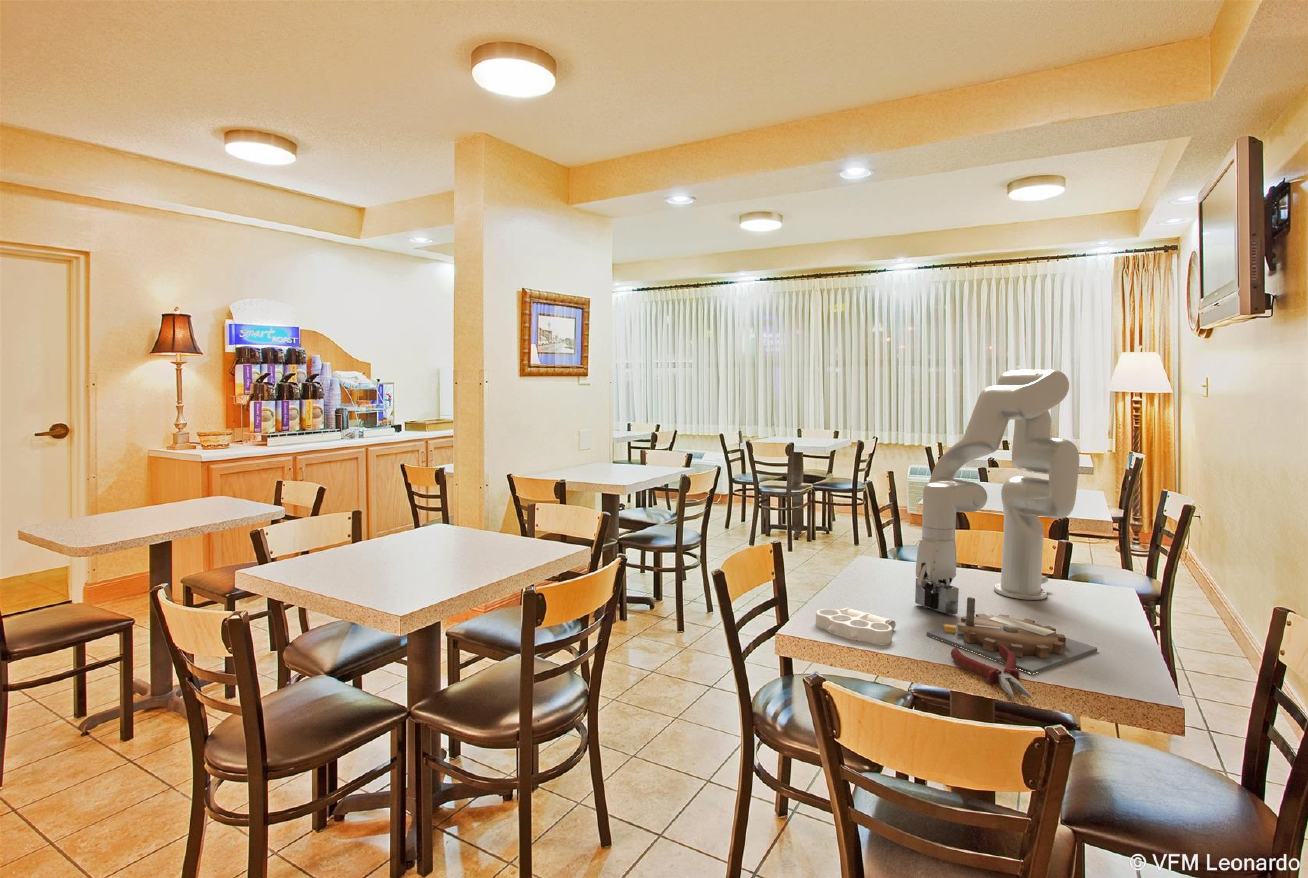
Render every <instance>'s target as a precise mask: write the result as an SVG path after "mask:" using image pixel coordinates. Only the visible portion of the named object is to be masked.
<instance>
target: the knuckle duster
mask: <svg viewBox="0 0 1308 878" xmlns="http://www.w3.org/2000/svg"><path fill="white" fill-rule="evenodd" d="M896 623H897V622H896V620H893V619H892V618H886V617H882V616H878V615H874V614H872V613H871V612H865V611H860V610H856V609H853V608H851V607H844V608H841V609H835V608H834V609H832V608H821V609H818V610H816V612H815V626H816V627H817V628H820V629H823V630H826V631H827V632H829V633H830V634H832V635H835V636H838V637H844V638H846V639H847V640H851V641H856V640H858V641H857V642H860V641H859V640H862V641H861V642H866V641H867V643H870V642H871V643H870V644H874V645H877V644H885V645H889V643H890V644H891V643H892V642H893V631H894V630H895V628H896V625H897V624H896ZM892 630H893V631H892Z"/></svg>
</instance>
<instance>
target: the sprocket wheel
mask: <svg viewBox="0 0 1308 878" xmlns="http://www.w3.org/2000/svg"><path fill="white" fill-rule="evenodd" d="M966 598H967V599H966V612H965V613H966V615H965V616H964V615H963V616H962V617H961V618H960V622H957V624H958V627H957V632H958V634H963V635H964V640H965V641H967V642H968V643H977V644H979V645H982V646H983V649H985V650H989V651H992V652H993V651H995V650H998V651H999V646H1005V647H1006V648H1008V649H1009V650H1010V651H1011V652H1012V653H1013V654H1014V655H1015V656H1018V657H1023V655H1036V656H1038V657H1039V658H1047V657H1049V653H1052V652H1053V653H1056V654H1060V655H1061V654H1062V653H1064V647H1065V646H1066V638H1067V637H1066V635H1065V634H1060V633H1057V629H1056V628H1055V627H1053V626H1050V625H1042V624H1039V623H1036V621H1035V620H1033V619H1031V618H1030V619H1029V618H1024V619H1020V618H1015V617H1010V615H1009V614H1001V613H998V615H995V616H988V615H987V614H986V613H976V614H975V611H976V610H975V609H976V607H975V606H976V598H975V597H972V596H969V597H966Z"/></svg>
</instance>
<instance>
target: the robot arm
mask: <svg viewBox="0 0 1308 878" xmlns="http://www.w3.org/2000/svg"><path fill="white" fill-rule="evenodd" d="M1069 391H1070V381H1069V379H1068V376H1067V375H1066V374H1065V373H1063V372H1062V371H1060V370H1057V369H1017V370H1016V369H1015V370H1008V371H1005V372H1004V373H1002V374H1000V376H999V377H998V381H997V385H992V386H987V387H985V388H983V390H982V391H981V392H980V393H979V395H978V397H977V401H976V403H975V406H974V407H973V410H972V411H973V412H972V413H971V416H970V419H969V421H968V425H967V427H966V430H965V432H964V434H963V436H962V437H961V439H960V440H959V441H958V442H956V443H955V444H954V445H952V446H951V447H949V449H948V450H947V451H945V452H944V454H942V456H941V457H940V458H939V459H938V460H937V461H936V463H935V466H934V468H933V469H932V470H933V471H932V473H931V475H930V478H929V481H928V483H927V484H925V485H924V486H923V491H922V516H921V517H922V523H921V538H920V540H919V543H918V547H917V554H916V560H915V561H916V563H915V577H916V578H918V580H917V583H918V584H919V585H921V586H922V587H923V591H925V600H924V605H925V606H924V607H926V608H928V609H932V610H934V609H937V593H935V592H936V584H937V582H941V583H944V584H947V585H951V584H952V582H953V580H954V579H955V578H956V576H957V573H956V572H957V562H958V561H957V545H956V517H957V513H958V512H959V513H974V512H978V511H981V510H982V509H983V508H984V507H985V505H986V504H987V502H988V494H987V491H986V489H985V487H984V486H982V485H981V484H979V483H976V482H973V481H967V480H962V479H956V478H955V477H956V474H957V472H959V470H960V469H961V468H962V467H963V466H965V465H966V464H968V463H969V462H972V461H974V460H977V459H979V458H982V457H985V456H988V455H991V454H993V453H995V452H996V451H997V450H998V449H999V447H1000V444H1001V442H1002V439H1003V438H1004V437H1003V436H1004V434H1005V431H1006V428H1007V426H1008V424H1009V421H1010V420H1014V427H1013V429H1014V430H1013V436H1012V437H1013V438H1012V445H1011V446H1012V448H1011V462H1012V465H1013V466H1014V468H1015V469H1017V470H1019V471H1021V472H1022V471H1023V472H1027V473H1028V472H1029V473H1035V474H1041V475H1048V479H1043V478H1041V477H1040V478H1039V477H1030V476H1023V475H1022V476H1021V475H1020V476H1019V475H1018V476H1014V477H1010V478H1009V479H1008V478H1007V480H1006V481H1005V482H1003V485H1002V486H1001V492H1000V494H1001V497H1000V498H1001V505H1002V510H1003V535H1002V536H1003V538H1002V557H1001V573H1000V575H1001V576H1000V582H999V583H998V582H997V583H996V584H994V586H993V590H994V591H995V592H996V593H997V594H999V595H1002V596H1004V597H1008V598H1011V599H1017V600H1028V601H1039V600H1044V599H1046V598H1047V597H1048V592H1047V591H1046V590H1045V589H1043V588H1041V587H1042V585H1043V584H1046V583H1048V582H1049V578H1048V576H1045V575H1042V569H1043V554H1044V553H1043V552H1044V551H1043V550H1044V539H1045V537H1044V536H1045V532H1044V531H1045V530H1044V525H1043V522H1042V520H1041V519H1040V517H1039V516H1042V517H1045V518H1050V519H1051V518H1052V519H1065V518H1067V517H1068V516H1070V515H1071V513H1072V512H1073V510H1074V507H1075V504H1076V503H1075V502H1076V498H1077V490H1078V489H1077V488H1078V481H1079V472H1080V453H1079V449H1078V448H1077V446H1076V445H1075V443H1074V442H1073V441H1071V440H1068V439H1065V438H1057V437H1056V438H1055V437H1051V430H1052V429H1051V428H1052V427H1051V426H1052V418H1051V413H1050V412H1049V410H1050V409H1052V408H1055V406H1057V405H1059V404H1060V403H1061V402H1062V401H1063V400H1065V398H1066V397H1067V395H1068V393H1069ZM929 582H931V583H932V585H930V584H929Z"/></svg>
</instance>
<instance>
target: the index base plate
mask: <svg viewBox="0 0 1308 878" xmlns="http://www.w3.org/2000/svg"><path fill="white" fill-rule="evenodd" d="M987 616H996V615H994V614H991V613H990V614H988V615H987ZM957 627H958V623H956V624H950V623H949V624H948V623H944V624H943V627H940V628H936V629H932V630H929V631H926V635H928V636H927V637H929V636H930V638H932V637H934V638H937V639H939V640H938V641H940V640H943V641H945V642H947V643H946V644H948V643H949V644H948V645H950V644H953V645H956V646H958V647H962V648H964V649H967V650H969V651H973V652H975V653H977V654H981V655H983V656H985V657H988V658H991V659H993V660H996V661H997V662H996V661H995V662H996V663H998V662H1001V663H1003V664H1002V665H1004V664H1006V661H1005V660H1004V659H1002V658H1001V656H1000V654H999V651H998V650H995V651H993V652H992V651H989V650H985V649H983V646H982V645H979V644H977V643H968V642H967V641H965V640H964V635H963V634H958V632H957ZM926 635H925V636H926ZM934 638H933V639H934ZM937 639H936V640H937ZM945 642H944V643H945ZM953 645H952V646H953ZM956 646H955V647H956ZM958 647H957V648H958ZM964 649H963V650H964ZM969 651H968V652H969ZM1097 652H1098V647H1097V646H1093V645H1091V644H1090V645H1089V644H1086V643H1084V642H1080V641H1077V640H1074V639H1072V638H1071V639H1070V638H1068V637H1066V646H1065V647H1064V653H1062V654H1061V655H1060V654H1056V653H1053V652H1052V653H1049V657H1047V658H1039V657H1038V656H1036V655H1023V657H1018V656H1015V657H1016V667H1015V668H1017V669H1021V670H1023V671H1026V672H1030V673H1031V674H1033V673H1036V672H1039V673H1041V672H1040V671H1042V672H1044V671H1043V670H1045V671H1047V670H1049V669H1053V668H1055V667H1058V666H1061V665H1064V664H1066V663H1070V662H1072V661H1074V660H1078V659H1081V658H1083V657H1086V656H1089V655H1091V654H1092V655H1093V654H1094V653H1097ZM977 654H976V655H977ZM985 657H984V658H985ZM988 658H987V659H988ZM993 660H992V661H993ZM1001 663H1000V664H1001ZM1017 669H1016V670H1017ZM1046 669H1047V670H1046ZM1036 674H1037V673H1036Z"/></svg>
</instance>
